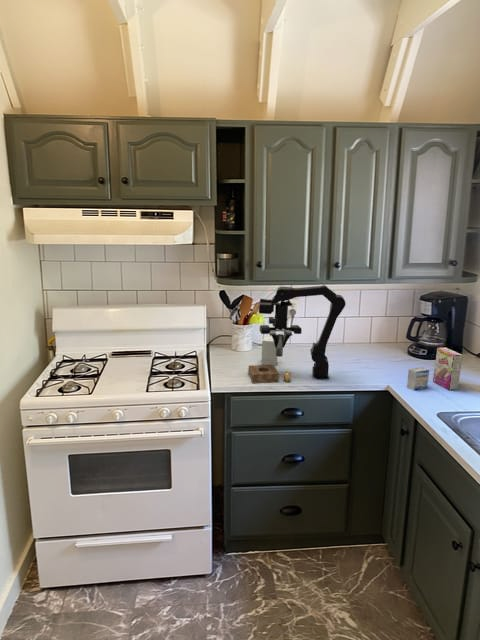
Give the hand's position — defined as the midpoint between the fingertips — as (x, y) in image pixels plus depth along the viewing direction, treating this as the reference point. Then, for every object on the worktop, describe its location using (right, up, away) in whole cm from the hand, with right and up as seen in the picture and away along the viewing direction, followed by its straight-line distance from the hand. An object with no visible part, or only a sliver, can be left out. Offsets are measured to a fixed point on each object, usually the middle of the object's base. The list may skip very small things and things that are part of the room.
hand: (279, 347), depth 218 cm
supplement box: (-4, -9, +19) cm, 21 cm away
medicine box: (+60, -18, -9) cm, 64 cm away
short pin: (+3, -15, -5) cm, 16 cm away
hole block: (-8, -14, -2) cm, 16 cm away
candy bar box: (+74, -17, -7) cm, 76 cm away
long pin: (0, -4, +1) cm, 4 cm away
